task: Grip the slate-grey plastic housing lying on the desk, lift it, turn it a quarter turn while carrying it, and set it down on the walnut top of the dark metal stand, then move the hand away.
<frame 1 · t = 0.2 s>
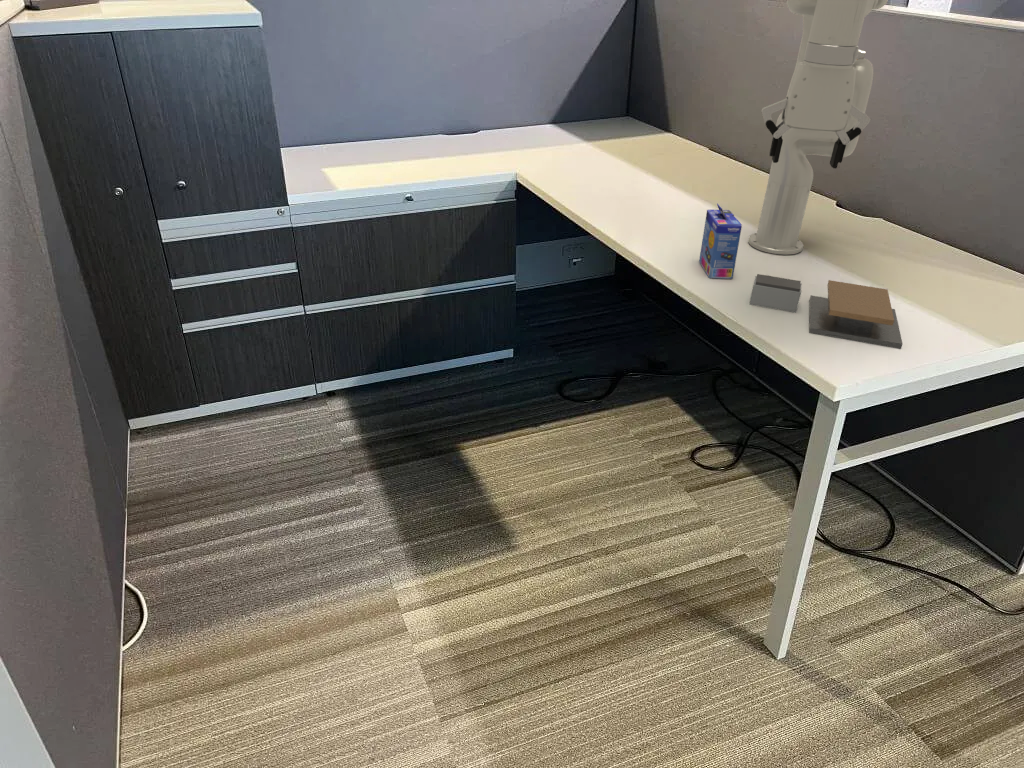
hand: (803, 163, 131), 30 cm above the table, tool pointing down, fingers open, 9 cm apart
display stand: (852, 322, 147), on the table
ink cartridge box: (714, 271, 168), on the table
housing: (772, 304, 154), on the table
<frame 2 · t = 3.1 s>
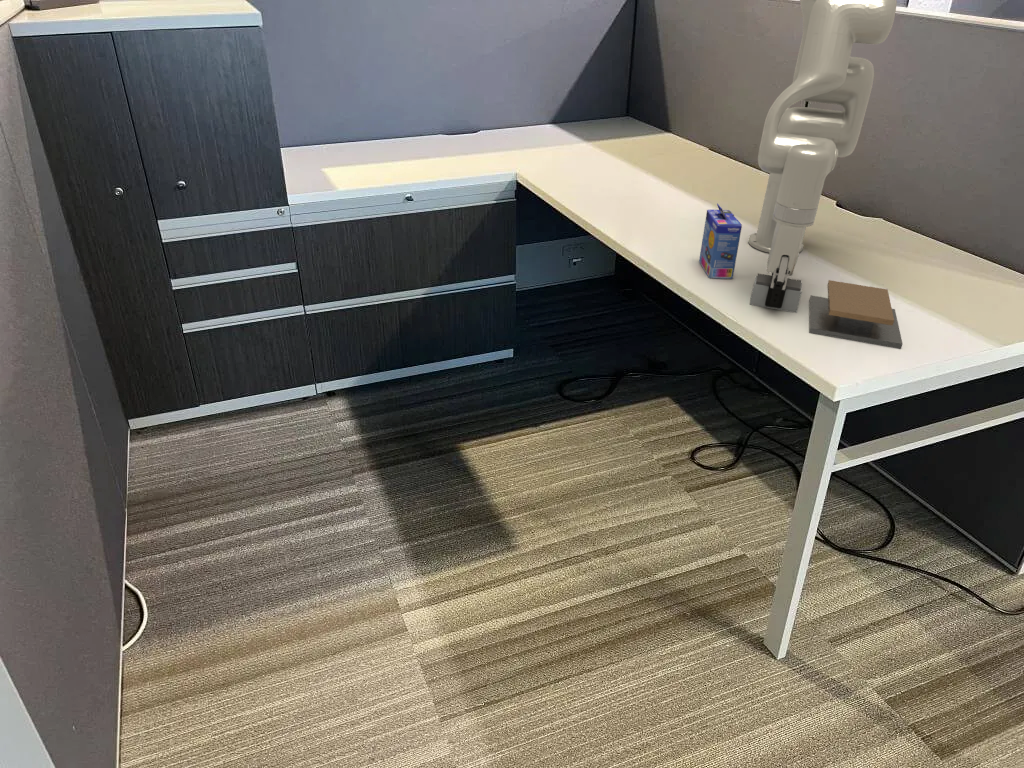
hand: (773, 300, 153), 1 cm above the table, tool pointing down, fingers closed on housing, 5 cm apart
housing: (773, 303, 154), on the table, touching gripper
everything else where it was.
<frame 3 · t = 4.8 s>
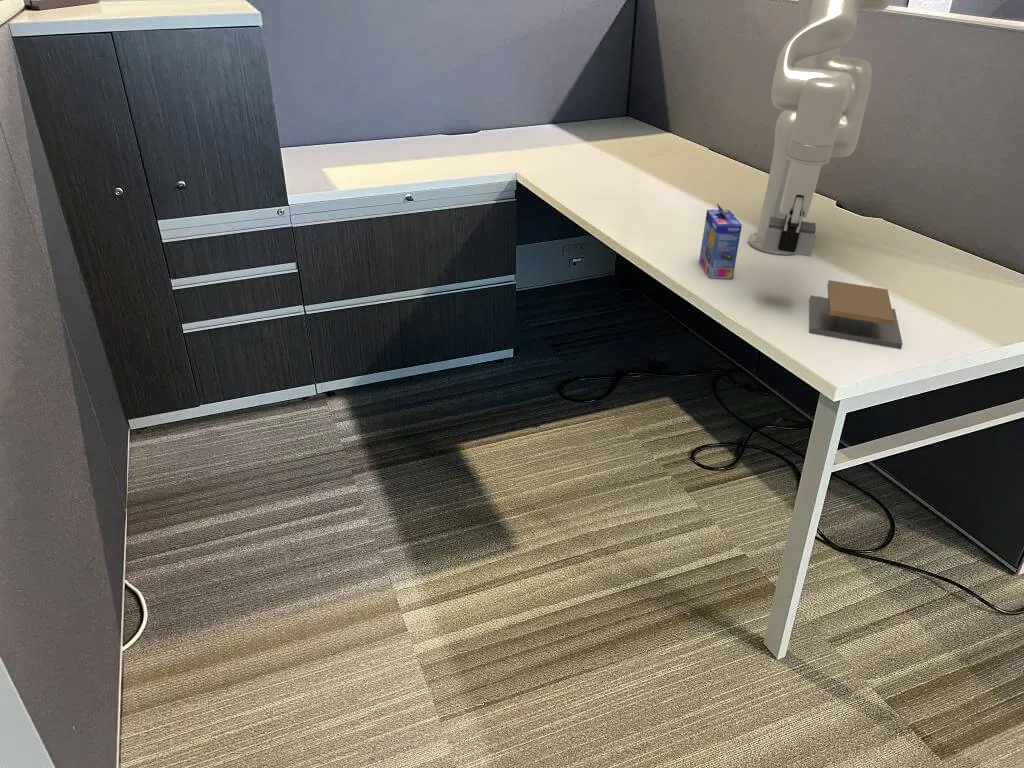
hand: (786, 244, 148), 12 cm above the table, tool pointing down, fingers closed on housing, 5 cm apart
housing: (786, 248, 148), point 11 cm above the table, touching gripper
everything else where it was.
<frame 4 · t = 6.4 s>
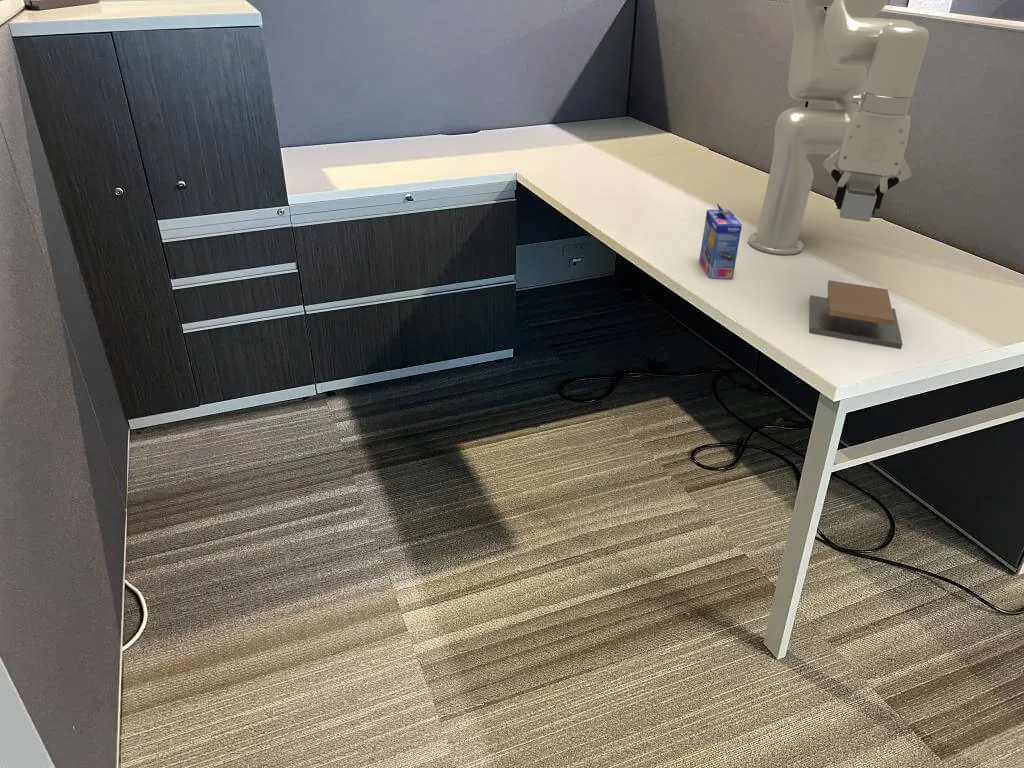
hand: (855, 208, 138), 22 cm above the table, tool pointing down, fingers closed on housing, 5 cm apart
housing: (854, 212, 139), point 21 cm above the table, touching gripper
everything else where it was.
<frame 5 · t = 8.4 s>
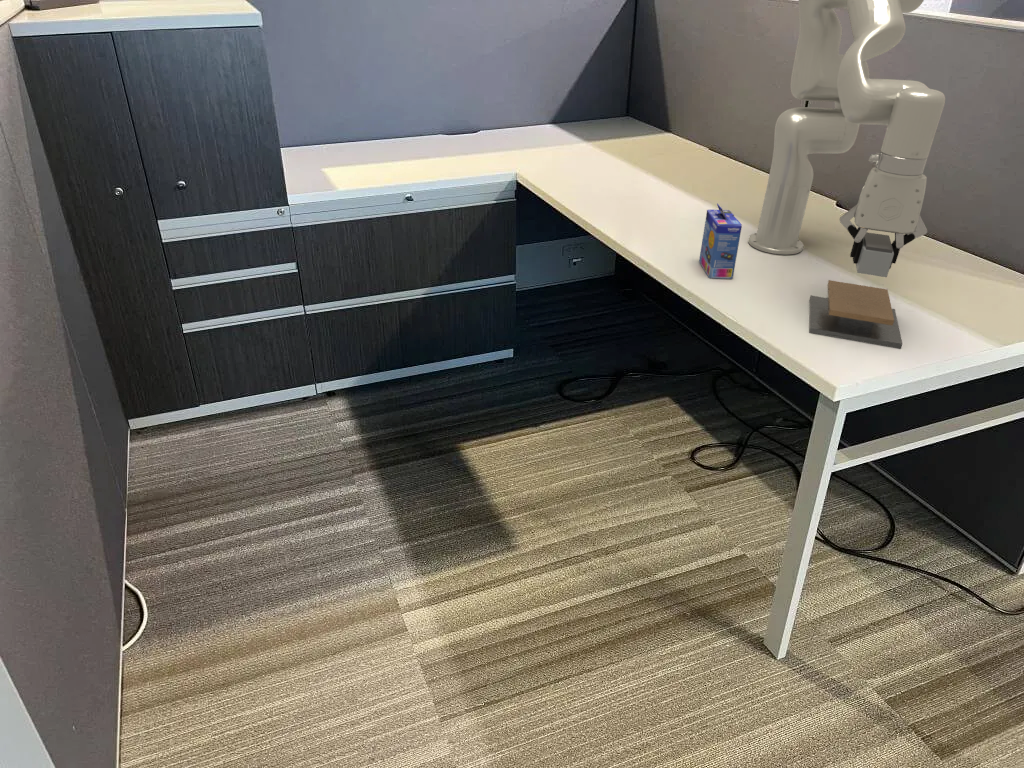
hand: (871, 262, 141), 12 cm above the table, tool pointing down, fingers closed on housing, 5 cm apart
housing: (870, 266, 141), point 12 cm above the table, touching gripper
everything else where it was.
when the fingers open (7 cm above the table, at t = 9.8 s): housing drops 1 cm, resting on display stand.
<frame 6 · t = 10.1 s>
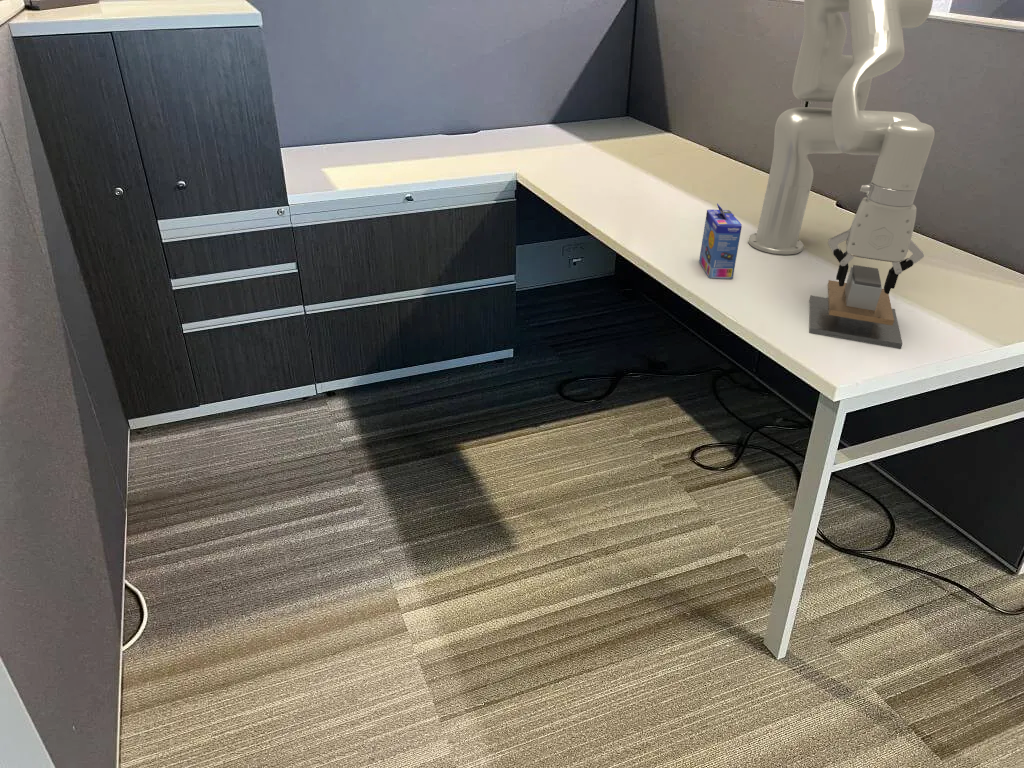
hand: (863, 286, 144), 8 cm above the table, tool pointing down, fingers open, 7 cm apart
housing: (859, 299, 145), point 5 cm above the table, touching display stand
everything else where it was.
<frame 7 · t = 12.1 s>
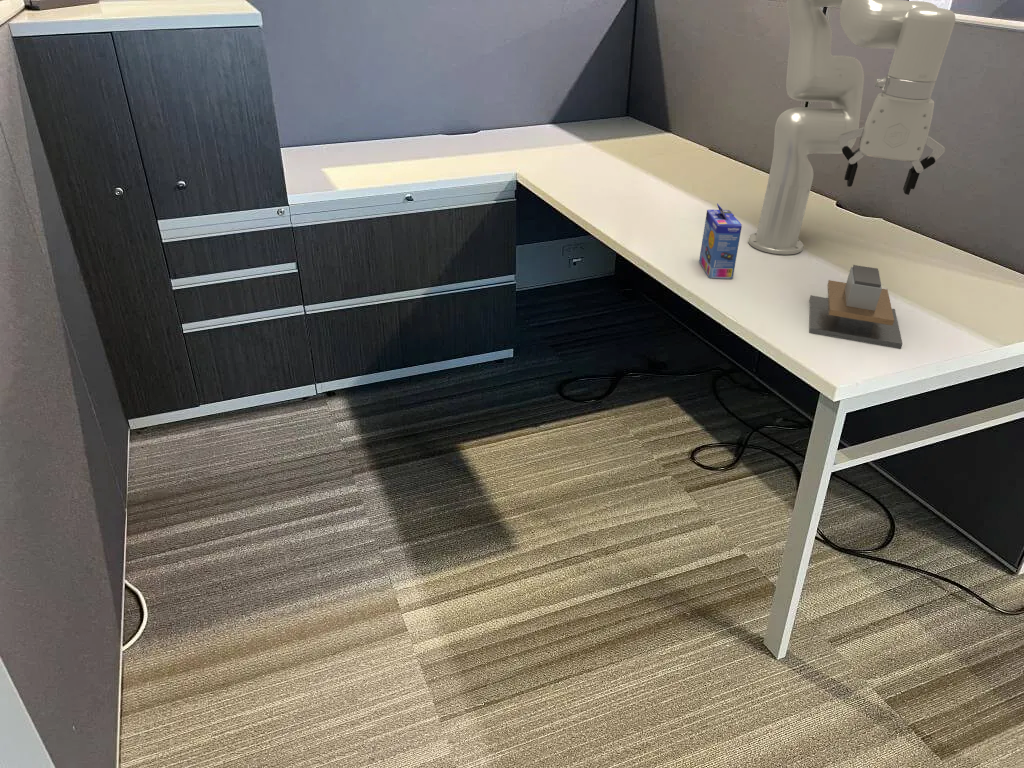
hand: (877, 188, 138), 25 cm above the table, tool pointing down, fingers open, 9 cm apart
nothing on the table moved.
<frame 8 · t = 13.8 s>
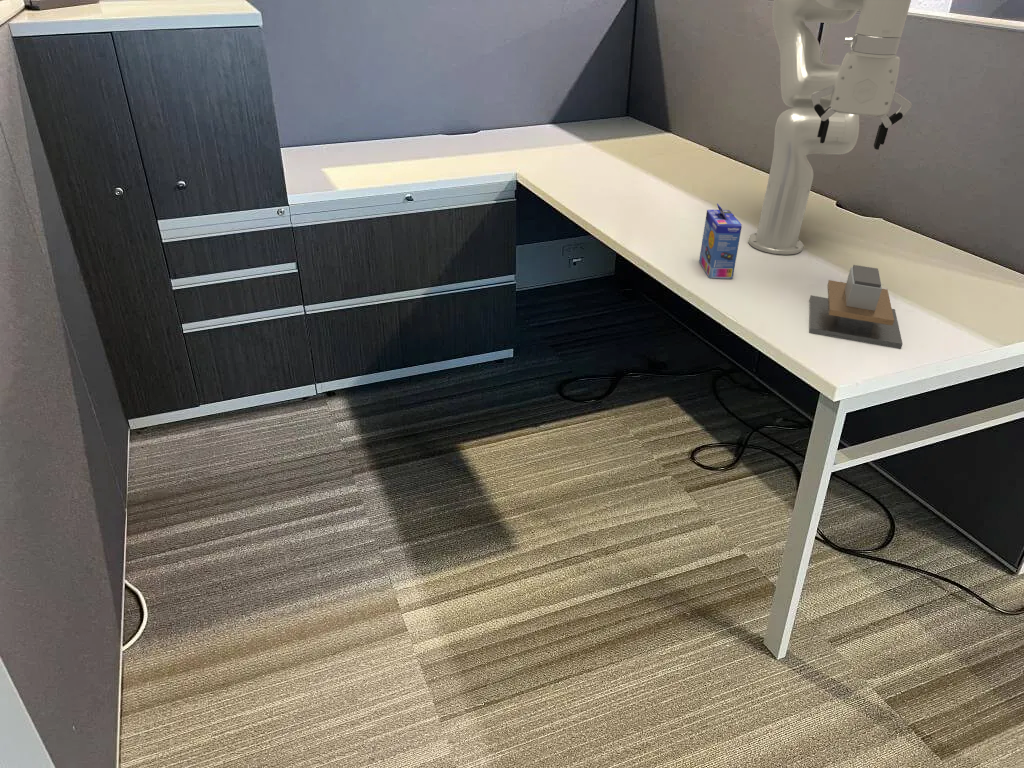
hand: (848, 144, 144), 30 cm above the table, tool pointing down, fingers open, 9 cm apart
nothing on the table moved.
at the end: housing inside the target area on the display stand (0.1 cm from its centre), point 5.0 cm above the display stand's base; housing tilted 0°; the gripper is holding nothing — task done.
